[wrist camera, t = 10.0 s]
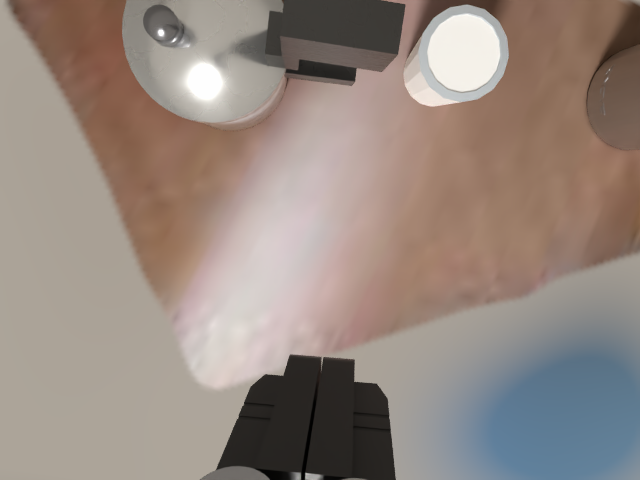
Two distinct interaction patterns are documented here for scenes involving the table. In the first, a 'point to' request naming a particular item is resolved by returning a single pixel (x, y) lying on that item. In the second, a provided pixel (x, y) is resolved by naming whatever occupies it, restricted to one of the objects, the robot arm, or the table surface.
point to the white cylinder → (457, 57)
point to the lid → (248, 47)
